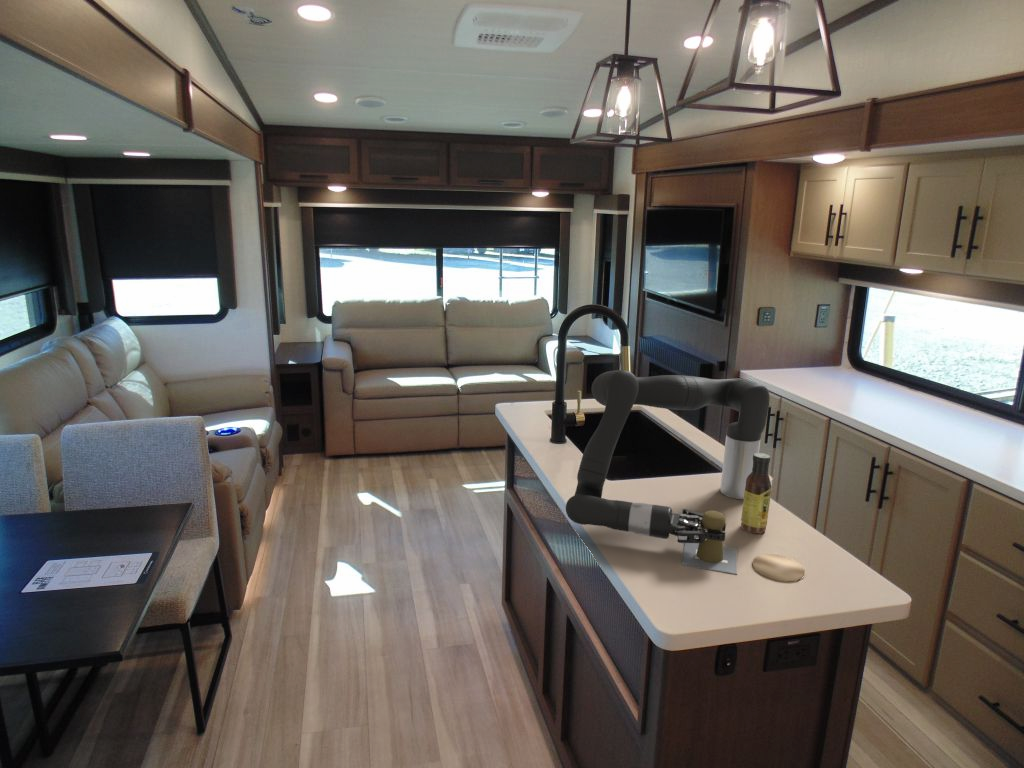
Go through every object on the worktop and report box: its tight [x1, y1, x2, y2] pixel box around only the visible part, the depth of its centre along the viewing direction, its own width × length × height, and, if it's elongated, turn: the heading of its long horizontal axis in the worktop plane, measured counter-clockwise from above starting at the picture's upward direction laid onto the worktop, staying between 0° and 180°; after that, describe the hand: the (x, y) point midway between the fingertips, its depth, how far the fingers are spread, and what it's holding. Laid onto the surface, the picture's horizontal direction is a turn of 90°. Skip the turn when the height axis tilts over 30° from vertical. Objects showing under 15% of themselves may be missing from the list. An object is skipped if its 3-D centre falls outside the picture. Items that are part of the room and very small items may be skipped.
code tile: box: [681, 543, 738, 575], centre depth 157 cm, size 12×12×1 cm
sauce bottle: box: [740, 452, 773, 534], centre depth 169 cm, size 6×6×20 cm
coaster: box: [752, 553, 805, 583], centre depth 152 cm, size 11×11×1 cm
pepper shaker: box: [697, 510, 726, 563], centre depth 155 cm, size 6×6×11 cm
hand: (724, 531), depth 154 cm, fingers closed on pepper shaker, 4 cm apart
